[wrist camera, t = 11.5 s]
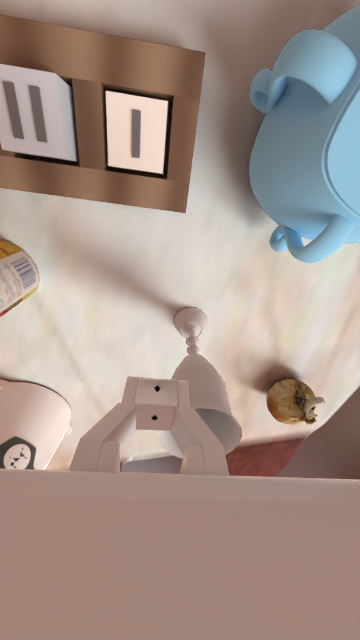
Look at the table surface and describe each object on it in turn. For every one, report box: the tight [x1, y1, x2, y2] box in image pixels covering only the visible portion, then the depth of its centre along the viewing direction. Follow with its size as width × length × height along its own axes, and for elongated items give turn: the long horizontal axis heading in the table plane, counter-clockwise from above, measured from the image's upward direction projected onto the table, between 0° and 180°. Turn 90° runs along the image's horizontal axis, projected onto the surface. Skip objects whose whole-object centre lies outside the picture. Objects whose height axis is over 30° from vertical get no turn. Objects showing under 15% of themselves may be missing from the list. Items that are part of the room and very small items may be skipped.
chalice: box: [159, 307, 242, 459], centre depth 26 cm, size 7×7×18 cm
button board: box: [0, 15, 205, 213], centre depth 20 cm, size 26×11×4 cm, turn 83°
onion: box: [267, 379, 325, 424], centre depth 38 cm, size 8×8×8 cm
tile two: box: [0, 64, 78, 162], centre depth 18 cm, size 5×5×3 cm
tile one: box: [106, 91, 169, 175], centre depth 21 cm, size 5×5×3 cm
